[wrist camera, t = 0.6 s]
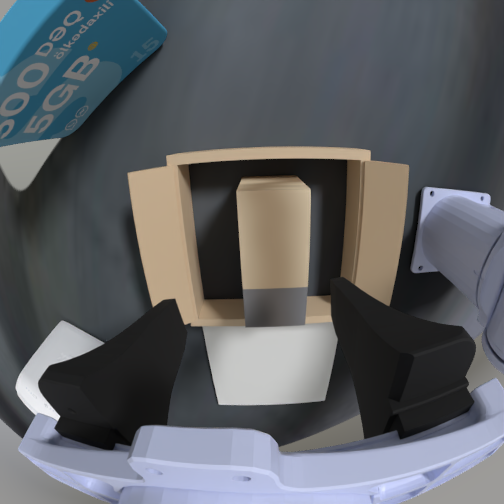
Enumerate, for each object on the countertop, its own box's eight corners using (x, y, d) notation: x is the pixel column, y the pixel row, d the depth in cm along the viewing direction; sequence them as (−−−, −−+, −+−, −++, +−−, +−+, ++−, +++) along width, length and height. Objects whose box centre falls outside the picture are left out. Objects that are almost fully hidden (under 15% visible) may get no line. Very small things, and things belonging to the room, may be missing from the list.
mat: (340, 316, 25) (341, 319, 25) (324, 398, 30) (324, 400, 30) (202, 321, 25) (202, 324, 25) (219, 402, 30) (218, 404, 30)
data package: (72, 137, 19) (-35, 157, 8) (51, 106, 17) (-50, 112, 6) (173, 37, 16) (100, -35, 5) (145, 9, 14) (70, -56, 3)
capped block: (296, 175, 20) (310, 189, 14) (295, 282, 24) (305, 325, 18) (242, 176, 20) (236, 191, 15) (248, 283, 24) (245, 327, 18)
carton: (383, 150, 19) (413, 155, 14) (368, 298, 24) (386, 329, 20) (149, 157, 20) (122, 163, 15) (173, 305, 25) (158, 338, 20)
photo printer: (133, 354, 28) (94, 442, 16) (127, 374, 29) (93, 454, 18) (60, 313, 26) (3, 383, 15) (59, 336, 28) (11, 402, 16)
